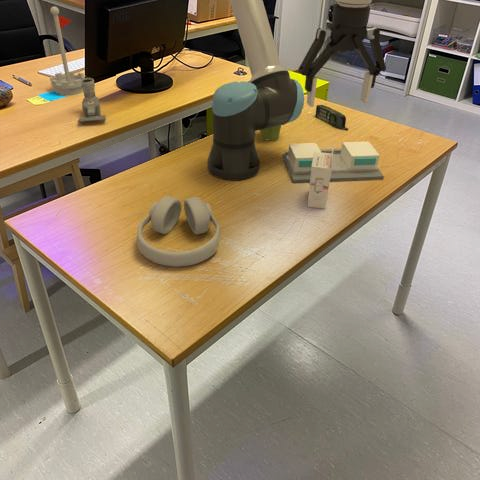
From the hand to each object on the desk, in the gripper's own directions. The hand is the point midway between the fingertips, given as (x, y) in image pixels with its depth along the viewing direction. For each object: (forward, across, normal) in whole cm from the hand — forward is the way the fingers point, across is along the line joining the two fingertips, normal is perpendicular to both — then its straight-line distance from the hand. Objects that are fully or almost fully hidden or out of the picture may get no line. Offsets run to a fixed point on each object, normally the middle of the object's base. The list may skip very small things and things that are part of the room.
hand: (337, 103), depth 110 cm
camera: (+25, -61, +63) cm, 91 cm away
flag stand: (+26, -70, +92) cm, 118 cm away
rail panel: (+25, +8, +13) cm, 29 cm away
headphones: (+25, -40, -14) cm, 49 cm away
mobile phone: (+25, +20, +44) cm, 55 cm away
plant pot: (+25, -4, +37) cm, 45 cm away
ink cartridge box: (+25, -3, -3) cm, 25 cm away
